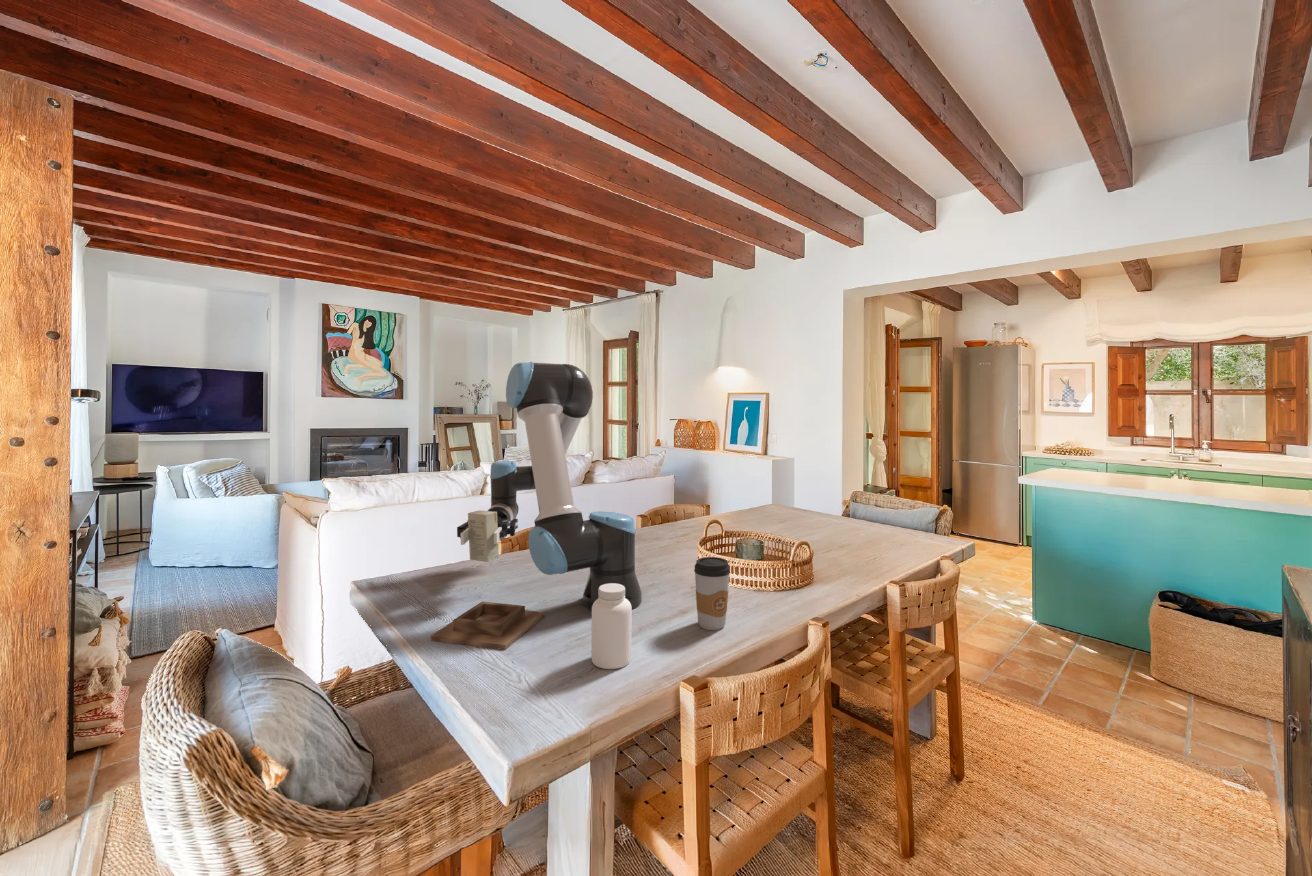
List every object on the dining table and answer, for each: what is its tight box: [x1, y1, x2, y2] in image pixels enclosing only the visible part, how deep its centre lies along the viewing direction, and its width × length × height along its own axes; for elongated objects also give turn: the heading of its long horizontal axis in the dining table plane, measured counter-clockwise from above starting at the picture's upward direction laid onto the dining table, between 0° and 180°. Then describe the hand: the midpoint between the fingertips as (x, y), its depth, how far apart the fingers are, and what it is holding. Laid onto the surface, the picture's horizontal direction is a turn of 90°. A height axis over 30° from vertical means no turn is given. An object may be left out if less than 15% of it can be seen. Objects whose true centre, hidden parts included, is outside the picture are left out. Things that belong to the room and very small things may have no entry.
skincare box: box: [467, 509, 500, 563], centre depth 136 cm, size 6×4×12 cm
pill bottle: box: [590, 583, 633, 670], centre depth 106 cm, size 8×8×15 cm
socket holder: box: [430, 601, 545, 650], centre depth 122 cm, size 18×18×4 cm
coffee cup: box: [694, 556, 731, 631], centre depth 123 cm, size 8×8×15 cm
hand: (478, 538), depth 131 cm, fingers closed on skincare box, 7 cm apart
